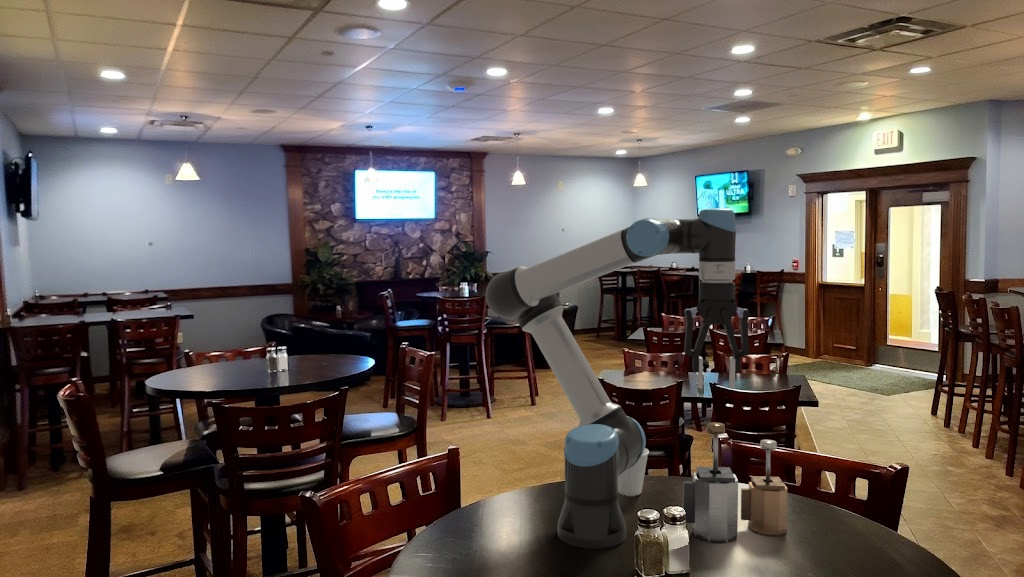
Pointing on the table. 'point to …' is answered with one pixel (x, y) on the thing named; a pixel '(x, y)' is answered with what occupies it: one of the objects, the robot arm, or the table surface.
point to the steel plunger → (715, 442)
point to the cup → (633, 477)
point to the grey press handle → (768, 455)
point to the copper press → (765, 506)
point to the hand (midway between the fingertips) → (716, 387)
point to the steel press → (712, 504)
